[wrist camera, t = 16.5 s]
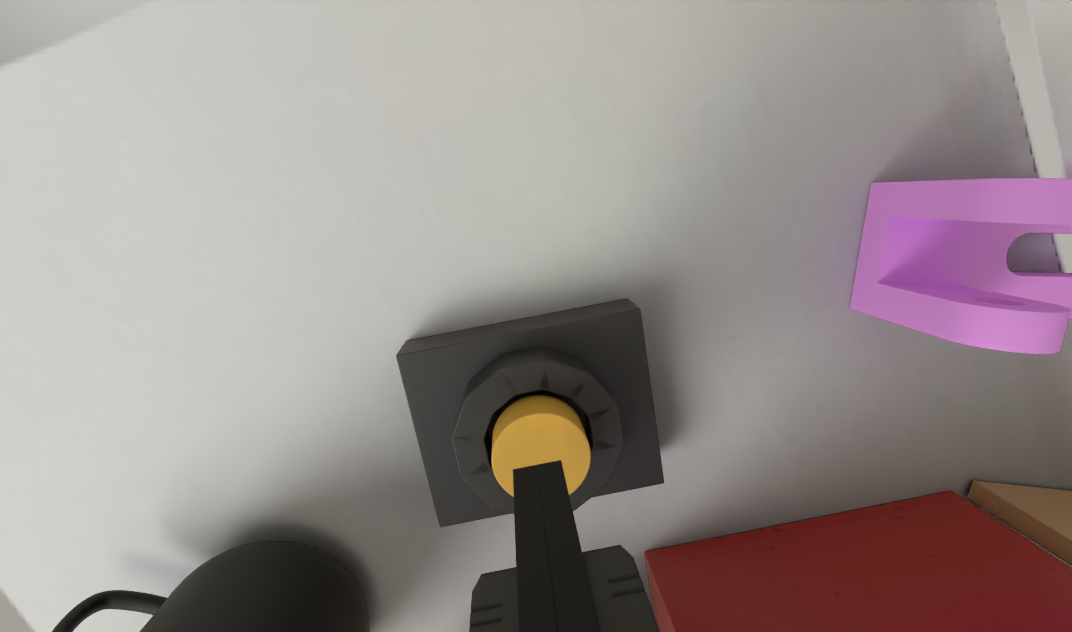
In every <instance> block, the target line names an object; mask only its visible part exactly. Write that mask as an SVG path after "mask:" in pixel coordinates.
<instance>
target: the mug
mask: <svg viewBox="0 0 1072 632" xmlns="http://www.w3.org/2000/svg"><path fill="white" fill-rule="evenodd" d="M103 609H121V610H130V611H137V612H142V613H147V614H152V615H154V616H153V617H152V618H151V619H150V620H149V621H148V623H147V624H146V625H145V626H144V627H143V628H142V630H141V631H140V632H369V619H368V613H367V608H366V605H365V602H364V599H363V596H362V593H361V591H360V589H359V587H358V585H357V584H356V582H355V581H354V579H353V578H352V576H351V575H350V574H349V573H348V572H347V571H346V570H345V568H344V567H342V566H341V565H340V564H339V563H338V562H337V561H335V560H334V559H332V558H331V557H329V556H328V555H326V554H324V553H322V552H320V551H318V550H316V549H314V548H311V547H308V546H306V545H302V544H298V543H293V542H285V541H263V542H256V543H251V544H246V545H243V546H240V547H237V548H234V549H231V550H228V551H226V552H224V553H222V554H220V555H218V556H216V557H214V558H212V559H210V560H209V561H207V562H206V563H204V564H203V565H201V566H199V567H198V568H197V569H196V570H194V571H193V572H192V573H191V574H190V575H189V576H187V577H186V578H185V579H184V580H183V581H182V582H181V583H180V585H179V586H178V587H177V588H176V589H175V590H174V591H173V592H172V593H171V595H170V596H169V597H168V598H165V597H161V596H157V595H152V594H147V593H141V592H134V591H123V590H113V591H105V592H101V593H98V594H95V595H93V596H91V597H89V598H87V599H86V600H84V601H82V602H81V603H80V604H78V605H77V606H76V607H74V608H73V609H72V610H71V611H70V612H69V613H68V614H67V615H66V616H65V617H64V618H63V619H62V620H61V621H60V622H59V623H58V625H57V626H56V627H55V628H54V630H53V631H52V632H73V630H74V629H75V628H76V627H77V626H78V625H79V624H80V623H81V622H82V621H83V620H85V619H86V618H87V617H89V616H90V615H92V614H93V613H95V612H97V611H100V610H103Z"/></svg>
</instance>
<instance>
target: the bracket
mask: <svg viewBox="0 0 1072 632" xmlns="http://www.w3.org/2000/svg"><path fill="white" fill-rule="evenodd" d="M1026 233H1062V234H1072V179H1053V178H1000V179H963V180H936V181H908V182H880V183H871V187H870V192H869V198H868V204H867V210H866V216H865V221H864V227H863V233H862V239H861V245H860V250H859V256H858V262H857V268H856V274H855V280H854V285H853V291H852V297H851V303H850V309H853V310H856V311H859V312H862V313H865V314H868V315H872V316H875V317H878V318H881V319H884V320H887V321H890V322H893V323H896V324H899V325H902V326H905V327H908V328H912V329H915V330H918V331H921V332H924V333H927V334H930V335H933V336H936V337H939V338H942V339H946V340H949V341H953V342H957V343H961V344H966V345H970V346H976V347H981V348H987V349H993V350H1000V351H1008V352H1017V353H1029V354H1054V353H1058V352H1060V351H1061V348H1062V344H1063V340H1064V337H1065V333H1066V329H1067V326H1068V322H1069V319H1072V273H1034V272H1011V271H1010V270H1009V268H1008V266H1007V263H1006V256H1007V252H1008V249H1009V247H1010V245H1011V244H1012V243H1013V241H1014V240H1016V239H1017V238H1018V237H1019V236H1021V235H1023V234H1026Z"/></svg>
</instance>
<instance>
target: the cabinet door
mask: <svg viewBox="0 0 1072 632" xmlns="http://www.w3.org/2000/svg"><path fill="white" fill-rule="evenodd" d="M967 497H968V498H969V499H970V500H972V501H973V502H975V503H976V504H978V505H980V506H981V507H983V508H984V509H986V510H987V511H989V512H990V513H992V514H993V515H995V516H996V517H998V518H1000V519H1001V520H1003V521H1004V522H1006V523H1007V524H1009V525H1010V526H1012V527H1013V528H1015V529H1016V530H1018V531H1020V532H1021V533H1023V534H1024V535H1026V536H1027V537H1029V538H1030V539H1032V540H1033V541H1035V542H1036V543H1038V544H1040V545H1041V546H1043V547H1044V548H1046V549H1047V550H1049V551H1050V552H1052V553H1053V554H1055V555H1056V556H1058V557H1059V558H1061V559H1063V560H1064V561H1066V562H1067V563H1069V564H1070V565H1072V491H1068V490H1059V489H1049V488H1040V487H1030V486H1021V485H1012V484H1002V483H993V482H983V481H973V483H972V485H971V488H970V491H969V494H968V496H967Z"/></svg>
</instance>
